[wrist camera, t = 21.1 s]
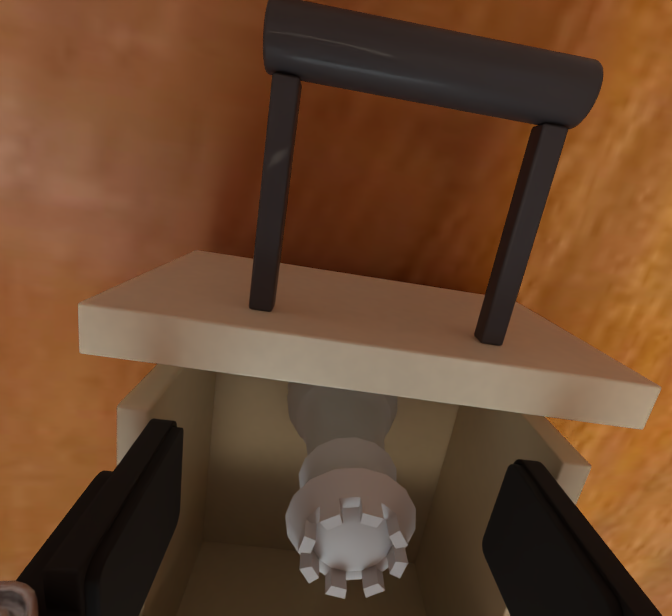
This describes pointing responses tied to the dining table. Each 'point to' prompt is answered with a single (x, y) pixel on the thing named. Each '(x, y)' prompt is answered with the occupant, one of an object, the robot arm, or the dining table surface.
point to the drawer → (362, 345)
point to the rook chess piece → (347, 489)
